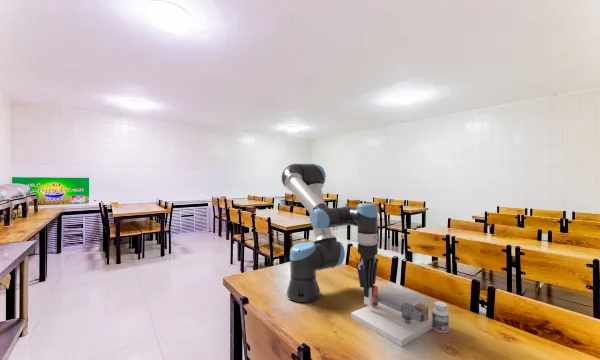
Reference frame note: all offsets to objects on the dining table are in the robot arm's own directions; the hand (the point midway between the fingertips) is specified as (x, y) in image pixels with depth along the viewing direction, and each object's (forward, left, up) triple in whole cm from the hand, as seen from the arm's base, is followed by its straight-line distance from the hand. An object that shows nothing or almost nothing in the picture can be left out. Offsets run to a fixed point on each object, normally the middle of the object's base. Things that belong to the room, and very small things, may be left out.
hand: (367, 304), depth 106 cm
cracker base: (+8, +2, -5) cm, 10 cm away
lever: (+9, +4, -1) cm, 10 cm away
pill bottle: (+21, +13, -5) cm, 26 cm away
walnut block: (+15, +11, -3) cm, 19 cm away
